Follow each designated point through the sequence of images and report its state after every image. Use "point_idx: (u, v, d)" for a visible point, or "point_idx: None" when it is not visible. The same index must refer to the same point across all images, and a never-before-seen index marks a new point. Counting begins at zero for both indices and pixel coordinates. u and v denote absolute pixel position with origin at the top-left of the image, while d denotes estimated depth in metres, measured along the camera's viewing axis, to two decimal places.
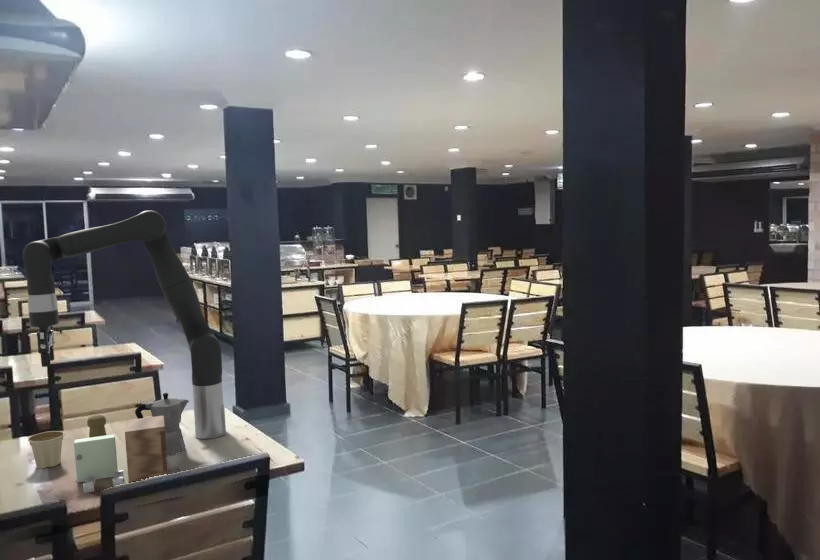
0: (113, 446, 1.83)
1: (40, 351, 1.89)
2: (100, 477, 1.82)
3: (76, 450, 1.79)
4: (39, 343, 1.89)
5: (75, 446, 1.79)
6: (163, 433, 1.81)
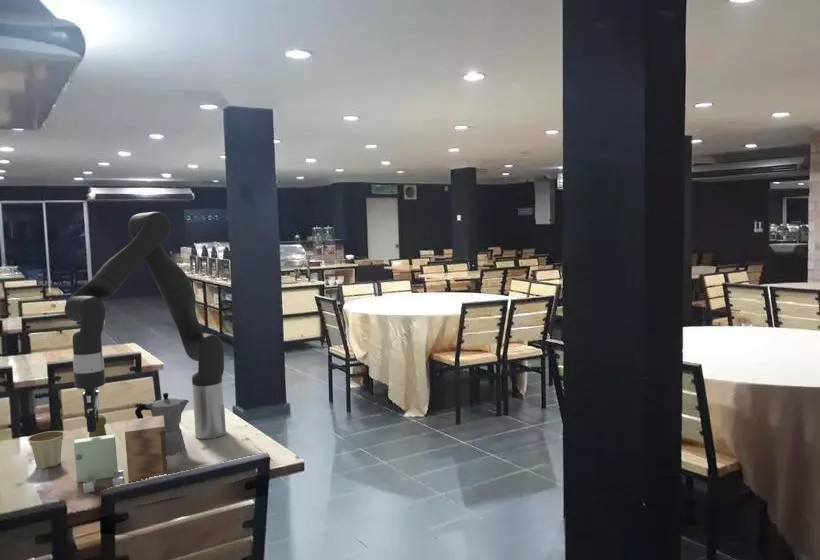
0: (113, 446, 1.83)
1: (87, 416, 1.74)
2: (100, 477, 1.82)
3: (76, 450, 1.79)
4: (86, 407, 1.74)
5: (75, 446, 1.79)
6: (163, 433, 1.81)
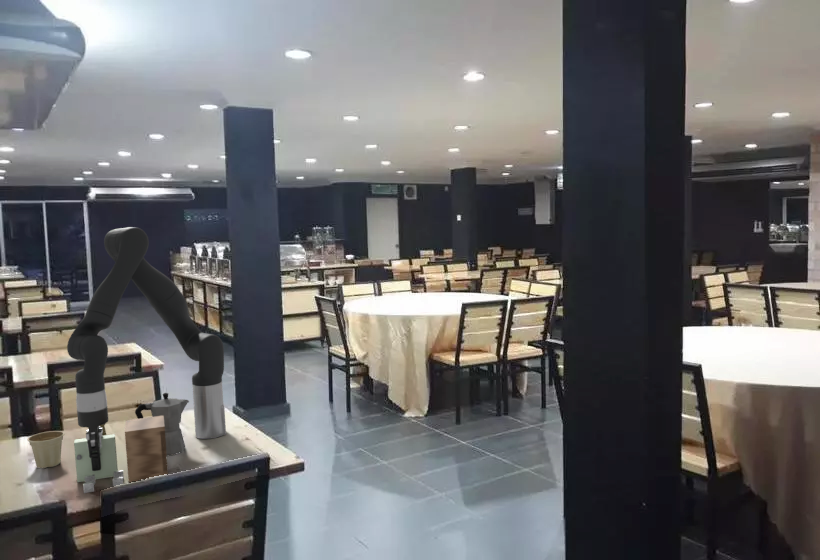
0: (113, 446, 1.83)
1: (91, 457, 1.78)
2: (100, 477, 1.82)
3: (76, 450, 1.79)
4: (90, 450, 1.77)
5: (75, 446, 1.79)
6: (163, 433, 1.81)
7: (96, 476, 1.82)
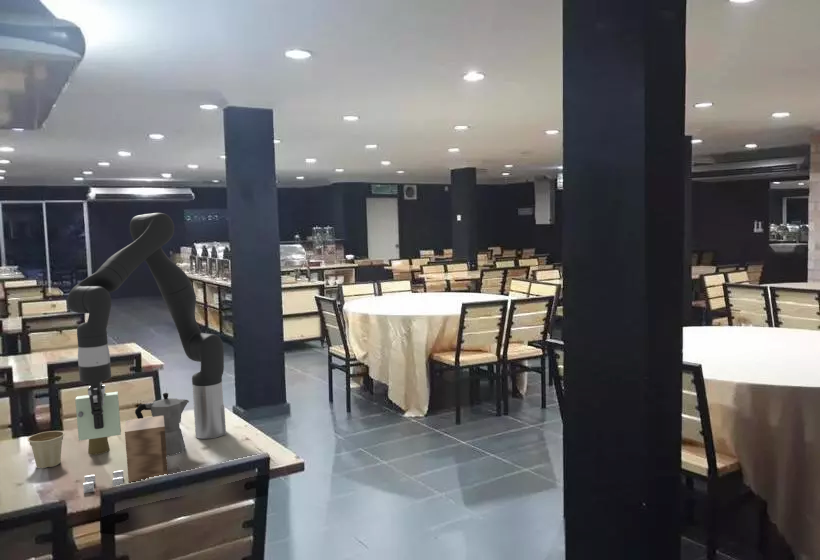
0: (116, 403, 1.75)
1: (94, 413, 1.71)
2: (103, 435, 1.75)
3: (77, 407, 1.72)
4: (92, 407, 1.69)
5: (76, 402, 1.72)
6: (163, 433, 1.81)
7: (98, 434, 1.74)
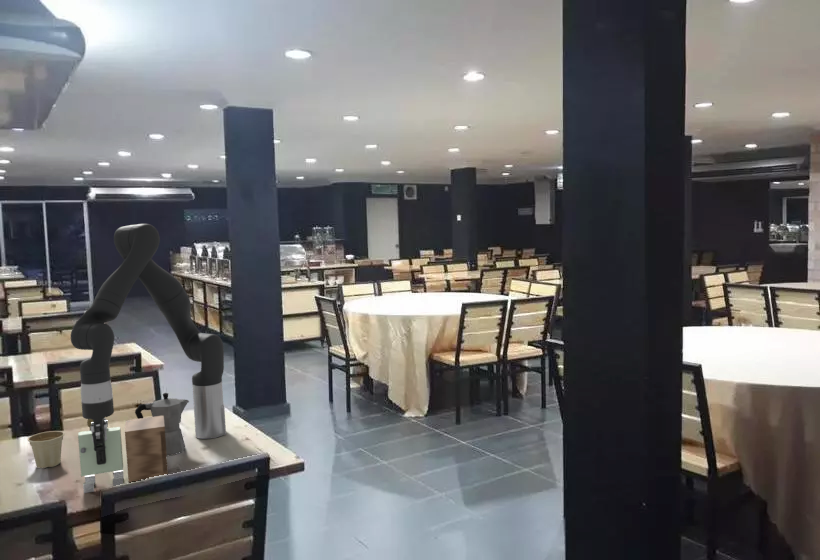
0: (118, 439, 1.76)
1: (96, 450, 1.72)
2: (105, 471, 1.76)
3: (80, 443, 1.73)
4: (95, 443, 1.70)
5: (79, 439, 1.73)
6: (163, 433, 1.81)
7: (101, 470, 1.75)
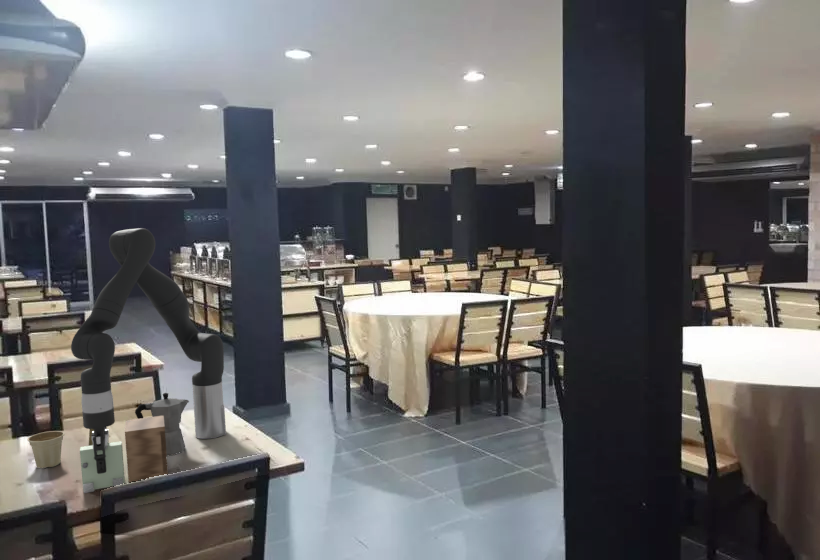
0: (120, 453, 1.77)
1: (96, 458, 1.69)
2: (107, 486, 1.76)
3: (82, 458, 1.73)
4: (95, 449, 1.69)
5: (81, 454, 1.73)
6: (163, 433, 1.81)
7: (103, 485, 1.76)
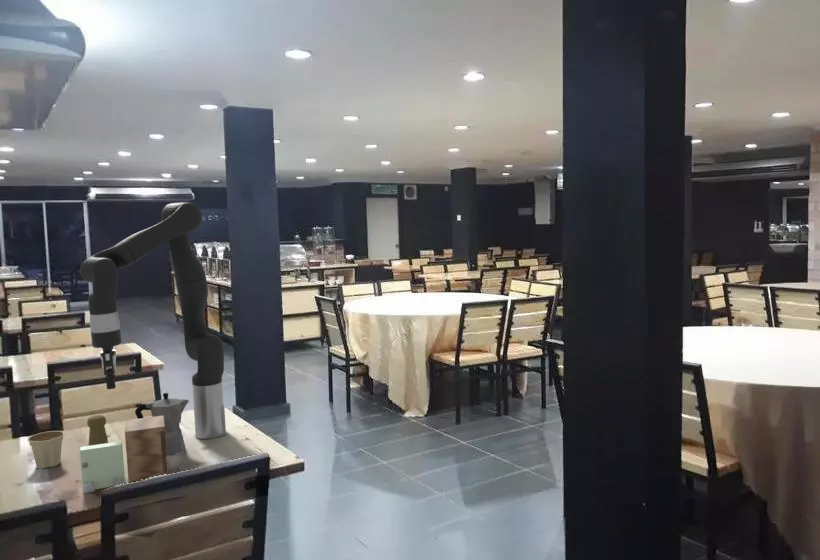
0: (120, 453, 1.77)
1: (106, 373, 1.81)
2: (107, 486, 1.76)
3: (82, 458, 1.73)
4: (105, 365, 1.80)
5: (81, 454, 1.73)
6: (163, 433, 1.81)
7: (103, 485, 1.76)
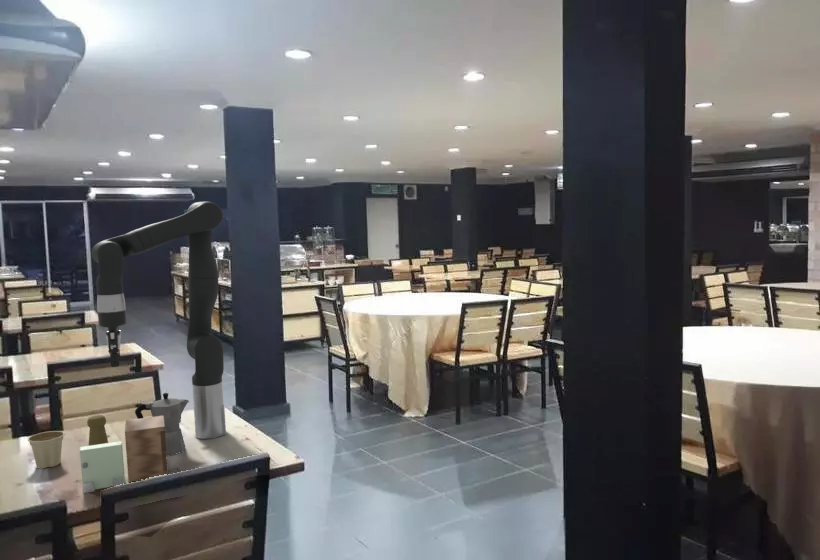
0: (120, 453, 1.77)
1: (110, 351, 1.89)
2: (107, 486, 1.76)
3: (82, 458, 1.73)
4: (110, 343, 1.89)
5: (81, 454, 1.73)
6: (163, 433, 1.81)
7: (103, 485, 1.76)
